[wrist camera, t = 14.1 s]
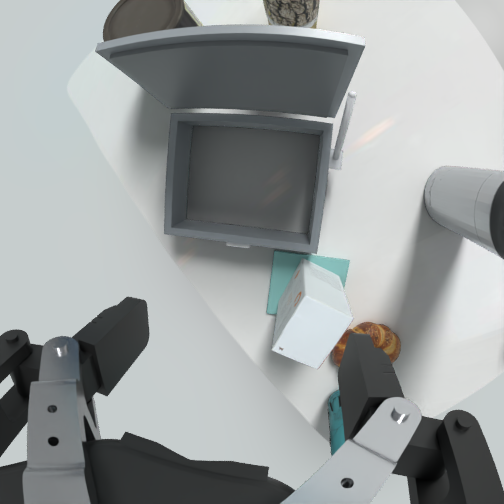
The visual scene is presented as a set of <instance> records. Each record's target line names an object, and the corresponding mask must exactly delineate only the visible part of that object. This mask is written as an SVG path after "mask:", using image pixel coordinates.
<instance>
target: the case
mask: <svg viewBox="0 0 504 504" xmlns="http://www.w3.org/2000/svg"><path fill="white" fill-rule="evenodd" d="M356 96H357V95H356V93H355V92H354V91H350V92H349V93H348V97H347V101H346V105H345V110H344V114H343V118H342V122H341V126H340V130H339V134H338V137H337V141H336V145H335V149H331V140H332V130H333V124H331V123H324V122H317V121H309V120H301V119H292V118H283V117H272V116H259V115H244V114H221V113H171V121H170V132H169V143H168V156H167V172H166V191H165V220H164V234H167V235H175V236H183V237H191V238H199V239H207V240H215V241H223V242H226V245H227V246H235V247H243V248H250V246H251V245H254V246H261V247H269V248H277V249H284V250H292V251H300V252H307V253H315V254H317V249H318V243H319V237H320V230H321V223H322V216H323V209H324V201H325V194H326V186H327V177H328V169H329V168H332V169H338V170H341V166H342V157H343V150H341V149H342V146H343V143H344V139H345V136H346V132H347V129H348V125H349V122H350V118H351V115H352V111H353V107H354V104H355V100H356ZM193 126H225V127H243V128H258V129H270V130H280V131H290V132H298V133H307V134H314V135H320V142H319V152H318V162H317V171H316V179H315V188H314V196H313V204H312V212H311V219H310V227H309V234H303V233H296V232H288V231H280V230H272V229H264V228H256V227H248V226H240V225H231V224H223V223H214V222H205V221H196V220H187V219H186V217H187V197H188V180H189V165H190V152H191V140H192V129H193Z"/></svg>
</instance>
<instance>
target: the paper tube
mask: <svg viewBox="0 0 504 504" xmlns="http://www.w3.org/2000/svg"><path fill="white" fill-rule="evenodd" d="M263 3H264V7H265V11H266V15H267V18H268V22H269V25H277V26H292V27H303V28H312V29H316V24H317V17H318V9H319V0H263Z"/></svg>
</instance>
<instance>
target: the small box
mask: <svg viewBox="0 0 504 504" xmlns="http://www.w3.org/2000/svg"><path fill="white" fill-rule="evenodd" d="M353 319H354V317H353V314H352V311H351V308H350V305H349V302H348V299H347V297H346V294H345V291H344V288H343V285H342V283H341V280H340V277H339V276H338V275H336V274H334V273H332V272H330V271H328V270H326V269H324V268H322V267H320V266H318V265H316V264H314V263H312V262H310V261H308V260H306V259H304V258H302V259H301V261H300V263H299V265H298V267H297V268H296V270H295V272H294V274H293V276H292V278H291V279H290V281H289V283H288V285H287V287H286V289H285V290H284V292H283V294H282V296H281V298H280V300H279V302H278V309H277V317H276V324H275V330H274V337H273V343H272V351H274V352H276V353H279V354H281V355H283V356H286V357H288V358H290V359H293V360H295V361H298V362H300V363H303V364H305V365H308V366H310V367H313V368H316V369H319V367H320V366H321V365H322V363H323V362H324V361H325V359H326V358H327V357H328V355H329V354H330V352H331V351H332V350H333V348H334V347H335V346H336V344H337V343H338V341H339V340H340V338H341V337H342V335H343V334H344V333H345V331H346V330H347V328H348V327H349V325H350V324H351V322H352V321H353Z"/></svg>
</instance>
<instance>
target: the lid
mask: <svg viewBox="0 0 504 504" xmlns="http://www.w3.org/2000/svg"><path fill="white" fill-rule="evenodd" d="M364 48H365V37H362V36H357V35H352V34H346V33H341V32H334V31H328V30H320V29H312V28H303V27H292V26H277V25H212V26H197V27H186V28H177V29H169V30H162V31H155V32H149V33H143V34H137V35H132V36H127V37H123V38H118V39H114V40H110V41H105V42H102V43H98V44H97V47H96V50H95V52H97V53H98V54H99V55H101V56H102V57H103V58H105V59H106V60H107V61H109V62H110V63H111V64H113V65H114V66H115V67H117V68H118V69H119V70H121V71H122V72H123V73H125V74H126V75H127V76H128V77H130V78H131V79H132V80H134V81H135V82H136V83H137V84H139V85H140V86H141V87H142V88H144V89H145V90H146V91H147V92H149V93H150V94H151V95H152V96H154V97H155V98H156V99H157V100H159V101H160V102H161V103H162V104H164V105H165V106H166V107H167V108H171V109H182V108H213V109H242V110H259V111H272V112H283V113H293V114H302V115H310V116H317V117H324V118H327V117H332V118H335V116H336V114H337V111H338V109H339V107H340V104H341V102H342V100H343V97H344V95H345V93H346V90H347V88H348V86H349V83H350V81H351V79H352V76H353V74H354V72H355V69H356V67H357V64H358V62H359V60H360V57H361V55H362V52H363V50H364Z"/></svg>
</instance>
